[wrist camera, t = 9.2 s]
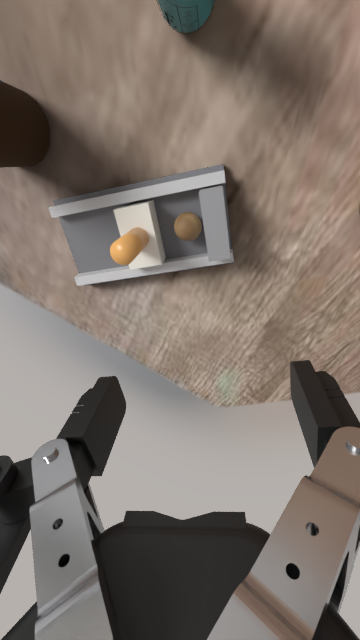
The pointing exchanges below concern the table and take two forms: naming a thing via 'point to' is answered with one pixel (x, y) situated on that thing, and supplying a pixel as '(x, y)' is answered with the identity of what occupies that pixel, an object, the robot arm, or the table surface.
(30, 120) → the olive oil
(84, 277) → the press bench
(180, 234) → the walnut
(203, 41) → the table surface
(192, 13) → the beverage bottle
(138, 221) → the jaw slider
